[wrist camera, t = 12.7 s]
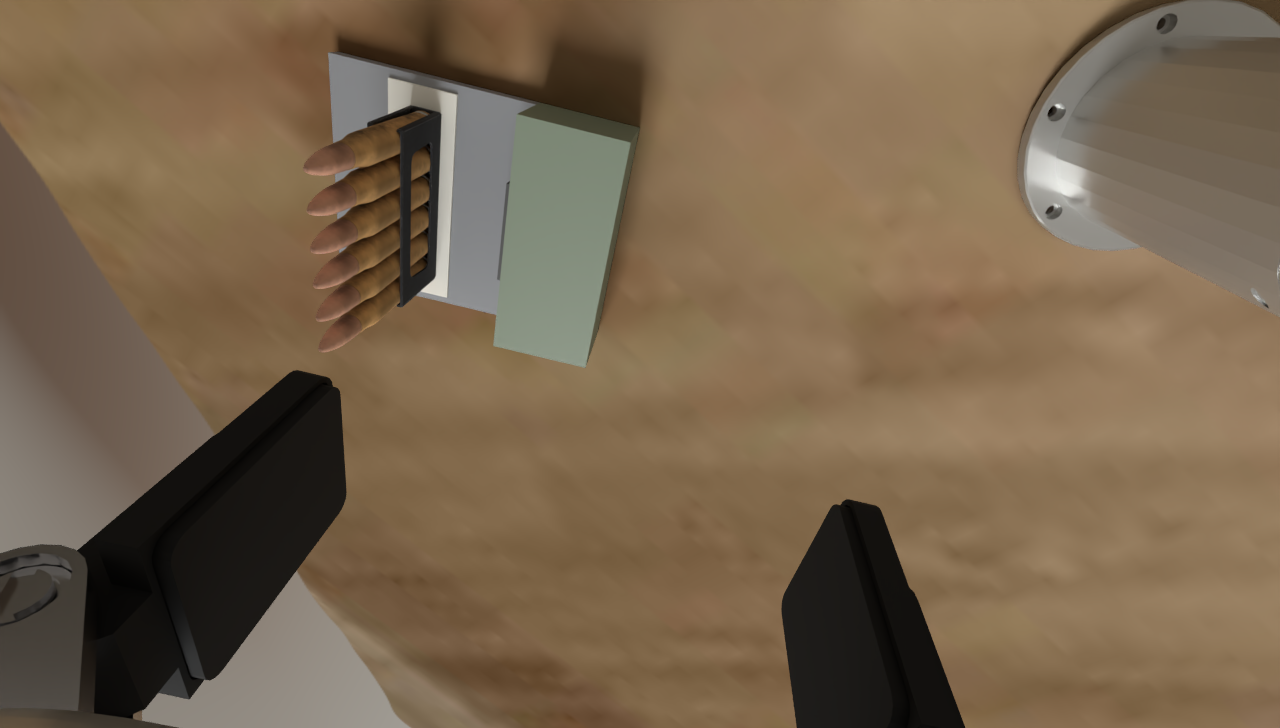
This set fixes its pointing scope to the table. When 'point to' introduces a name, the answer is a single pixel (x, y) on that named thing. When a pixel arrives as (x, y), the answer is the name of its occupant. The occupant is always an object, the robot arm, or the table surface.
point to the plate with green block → (509, 201)
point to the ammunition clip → (377, 219)
